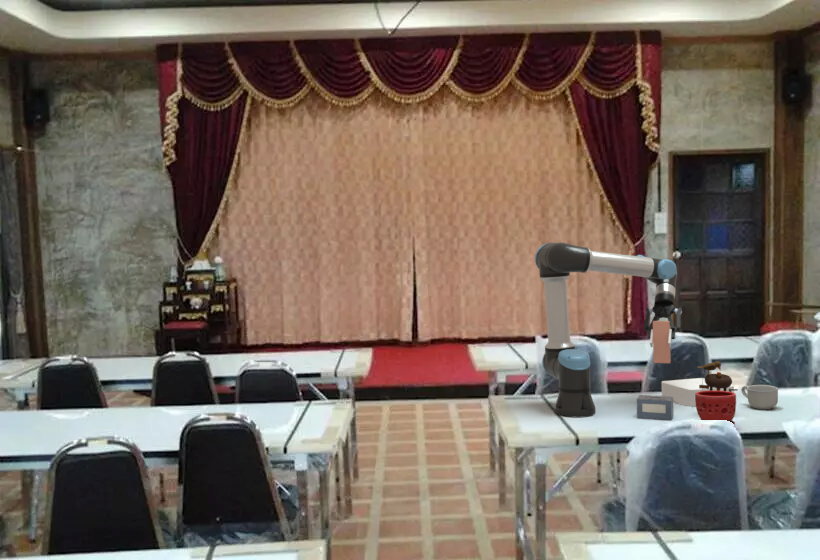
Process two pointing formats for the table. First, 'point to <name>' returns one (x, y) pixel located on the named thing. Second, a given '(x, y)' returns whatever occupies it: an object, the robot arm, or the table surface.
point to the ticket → (661, 341)
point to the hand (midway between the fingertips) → (660, 345)
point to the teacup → (761, 396)
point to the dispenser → (655, 407)
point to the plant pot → (719, 411)
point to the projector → (685, 390)
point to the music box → (716, 378)
